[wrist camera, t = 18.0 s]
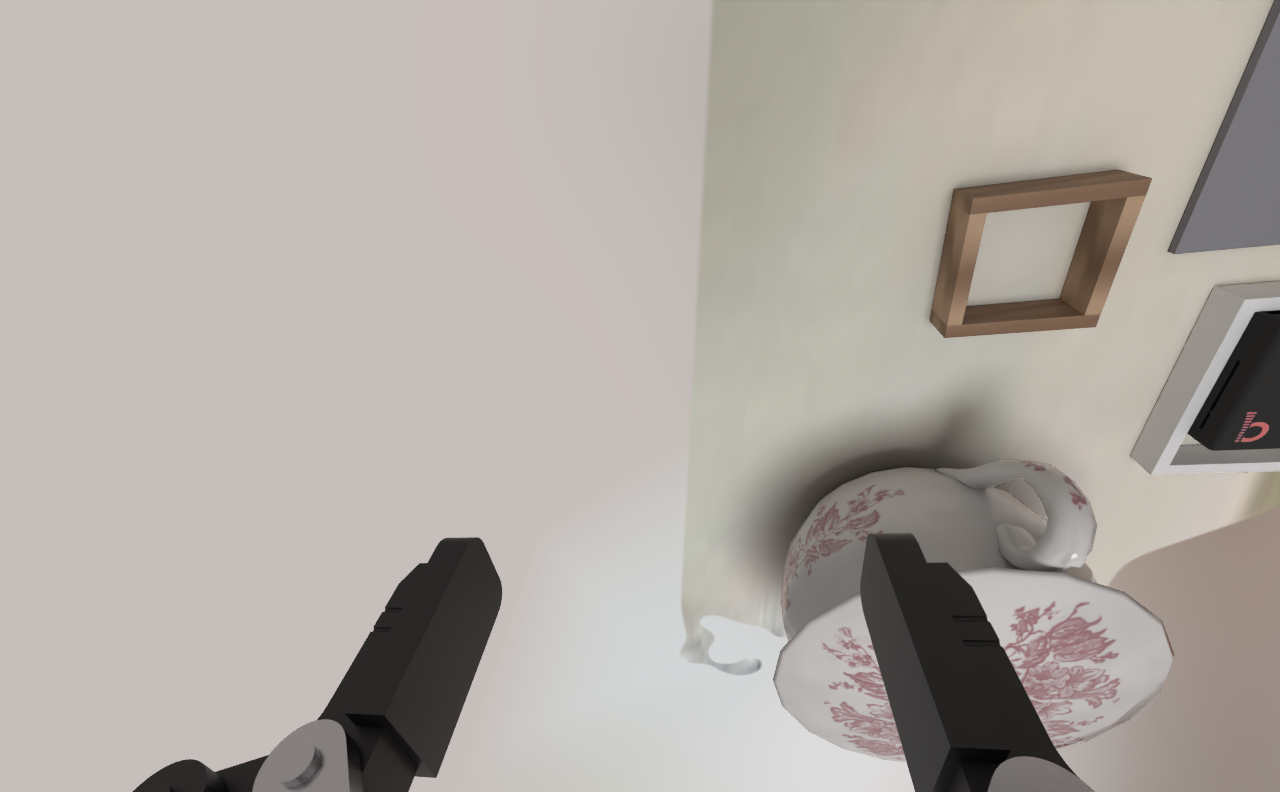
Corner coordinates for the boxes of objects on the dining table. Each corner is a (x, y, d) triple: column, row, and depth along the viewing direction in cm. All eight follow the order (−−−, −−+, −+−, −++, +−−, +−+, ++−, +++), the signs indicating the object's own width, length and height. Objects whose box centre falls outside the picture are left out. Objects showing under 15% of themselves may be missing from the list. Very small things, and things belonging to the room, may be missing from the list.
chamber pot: (840, 629, 63) (891, 839, 46) (704, 502, 54) (704, 708, 37) (1090, 542, 51) (1286, 784, 34) (971, 358, 42) (1161, 565, 24)
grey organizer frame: (1214, 286, 36) (1245, 299, 34) (1418, 269, 34) (1464, 282, 32) (1130, 455, 45) (1150, 474, 43) (1290, 450, 43) (1320, 469, 41)
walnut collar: (953, 189, 35) (973, 198, 32) (1118, 169, 33) (1152, 178, 31) (929, 320, 40) (944, 337, 38) (1070, 309, 38) (1095, 326, 36)
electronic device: (1343, 287, 36) (1427, 316, 32) (1264, 409, 42) (1327, 447, 37) (1221, 296, 37) (1286, 325, 33) (1161, 414, 43) (1210, 451, 39)
